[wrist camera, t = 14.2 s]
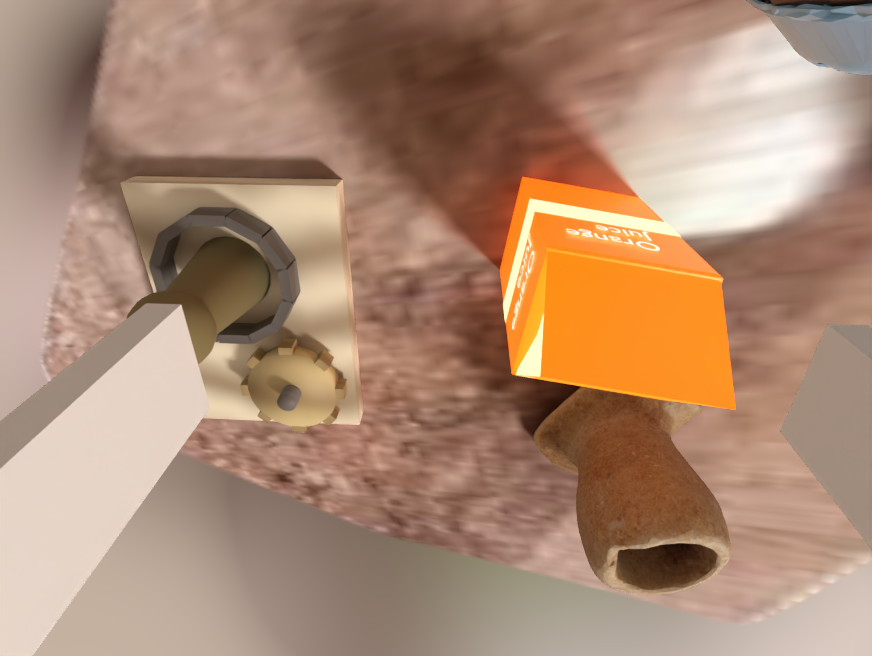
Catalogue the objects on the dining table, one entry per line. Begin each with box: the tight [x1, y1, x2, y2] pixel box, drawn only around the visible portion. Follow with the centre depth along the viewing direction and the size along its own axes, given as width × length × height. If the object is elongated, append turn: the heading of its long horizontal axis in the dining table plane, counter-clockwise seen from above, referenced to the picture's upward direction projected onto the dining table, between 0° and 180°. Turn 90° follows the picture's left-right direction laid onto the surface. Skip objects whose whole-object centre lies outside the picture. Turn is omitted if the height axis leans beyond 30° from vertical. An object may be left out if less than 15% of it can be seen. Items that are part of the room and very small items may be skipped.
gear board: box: [120, 176, 363, 433], centre depth 41 cm, size 22×16×6 cm
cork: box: [127, 236, 271, 364], centre depth 35 cm, size 6×6×11 cm
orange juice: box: [500, 177, 736, 410], centre depth 30 cm, size 8×9×20 cm
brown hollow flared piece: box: [534, 387, 731, 595], centre depth 40 cm, size 15×12×15 cm
